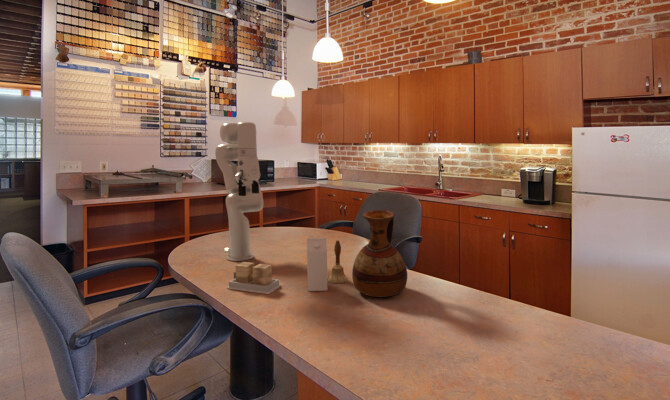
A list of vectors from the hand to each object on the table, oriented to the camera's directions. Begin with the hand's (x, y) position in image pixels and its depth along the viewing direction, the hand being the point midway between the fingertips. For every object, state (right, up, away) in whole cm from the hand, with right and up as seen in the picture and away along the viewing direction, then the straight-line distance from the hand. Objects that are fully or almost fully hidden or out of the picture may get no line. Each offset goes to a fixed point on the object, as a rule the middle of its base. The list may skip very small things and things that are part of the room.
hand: (249, 194), depth 164 cm
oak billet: (+2, -35, -13) cm, 37 cm away
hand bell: (+37, -34, -7) cm, 51 cm away
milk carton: (+29, -35, -16) cm, 49 cm away
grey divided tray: (+5, -35, -15) cm, 39 cm away
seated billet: (+9, -35, -16) cm, 40 cm away
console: (-2, -34, -4) cm, 34 cm away
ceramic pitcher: (+52, -36, -21) cm, 66 cm away
